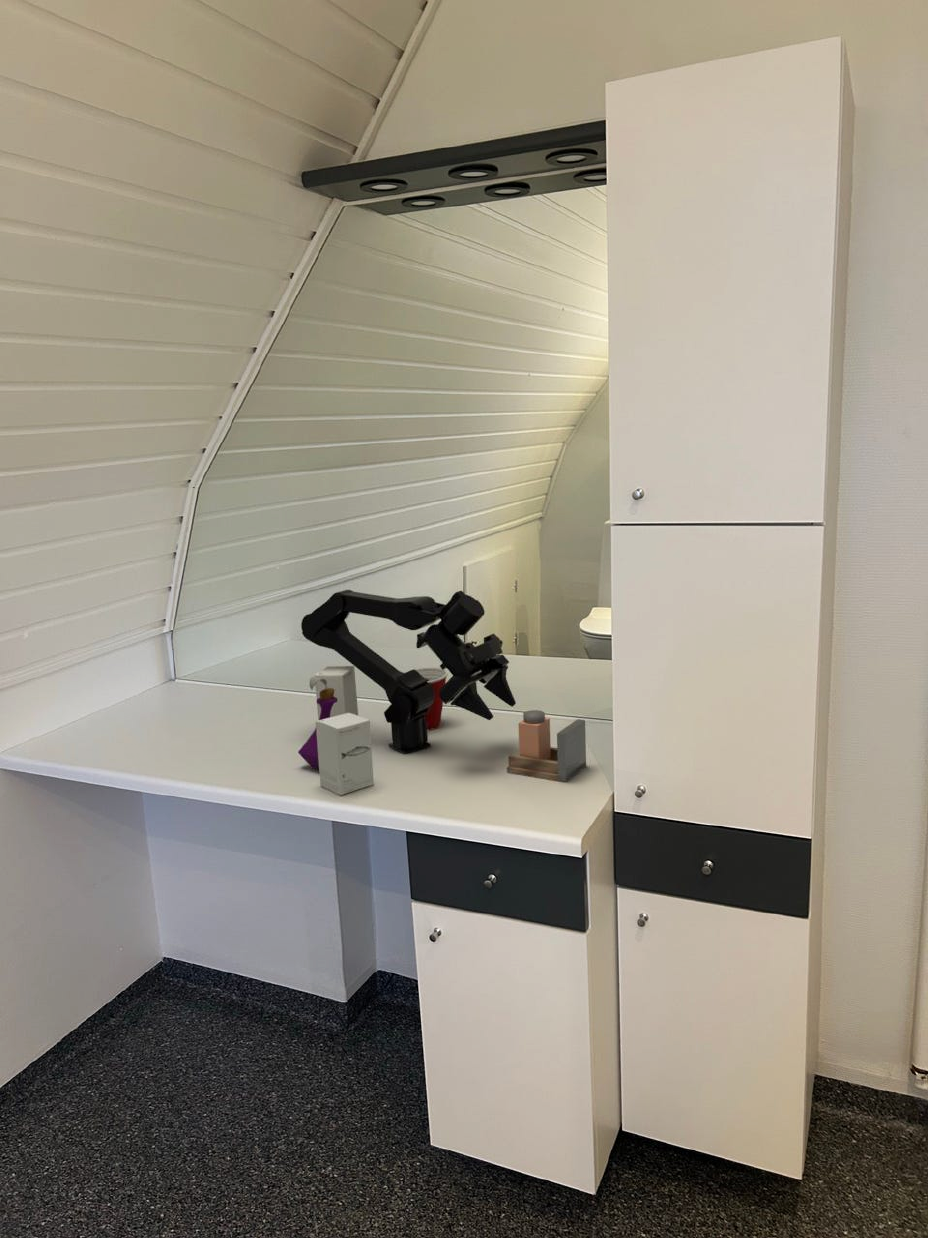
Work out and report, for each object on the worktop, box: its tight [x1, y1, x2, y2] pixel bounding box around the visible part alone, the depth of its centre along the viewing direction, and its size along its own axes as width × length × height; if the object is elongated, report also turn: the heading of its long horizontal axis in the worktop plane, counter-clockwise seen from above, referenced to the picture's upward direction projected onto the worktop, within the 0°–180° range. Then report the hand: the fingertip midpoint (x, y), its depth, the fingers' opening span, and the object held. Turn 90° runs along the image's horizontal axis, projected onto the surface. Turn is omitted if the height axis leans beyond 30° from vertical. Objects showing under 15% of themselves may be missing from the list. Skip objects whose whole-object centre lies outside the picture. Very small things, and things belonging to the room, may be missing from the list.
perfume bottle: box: [297, 676, 338, 770], centre depth 181 cm, size 8×8×18 cm
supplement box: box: [315, 713, 375, 796], centre depth 171 cm, size 7×7×13 cm
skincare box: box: [313, 665, 359, 721], centre depth 195 cm, size 8×7×16 cm
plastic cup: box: [403, 666, 449, 731], centre depth 203 cm, size 11×11×12 cm
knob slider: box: [518, 709, 552, 760], centre depth 175 cm, size 4×5×9 cm
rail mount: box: [506, 718, 587, 783], centre depth 174 cm, size 12×9×9 cm
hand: (503, 711), depth 178 cm, fingers open, 9 cm apart
